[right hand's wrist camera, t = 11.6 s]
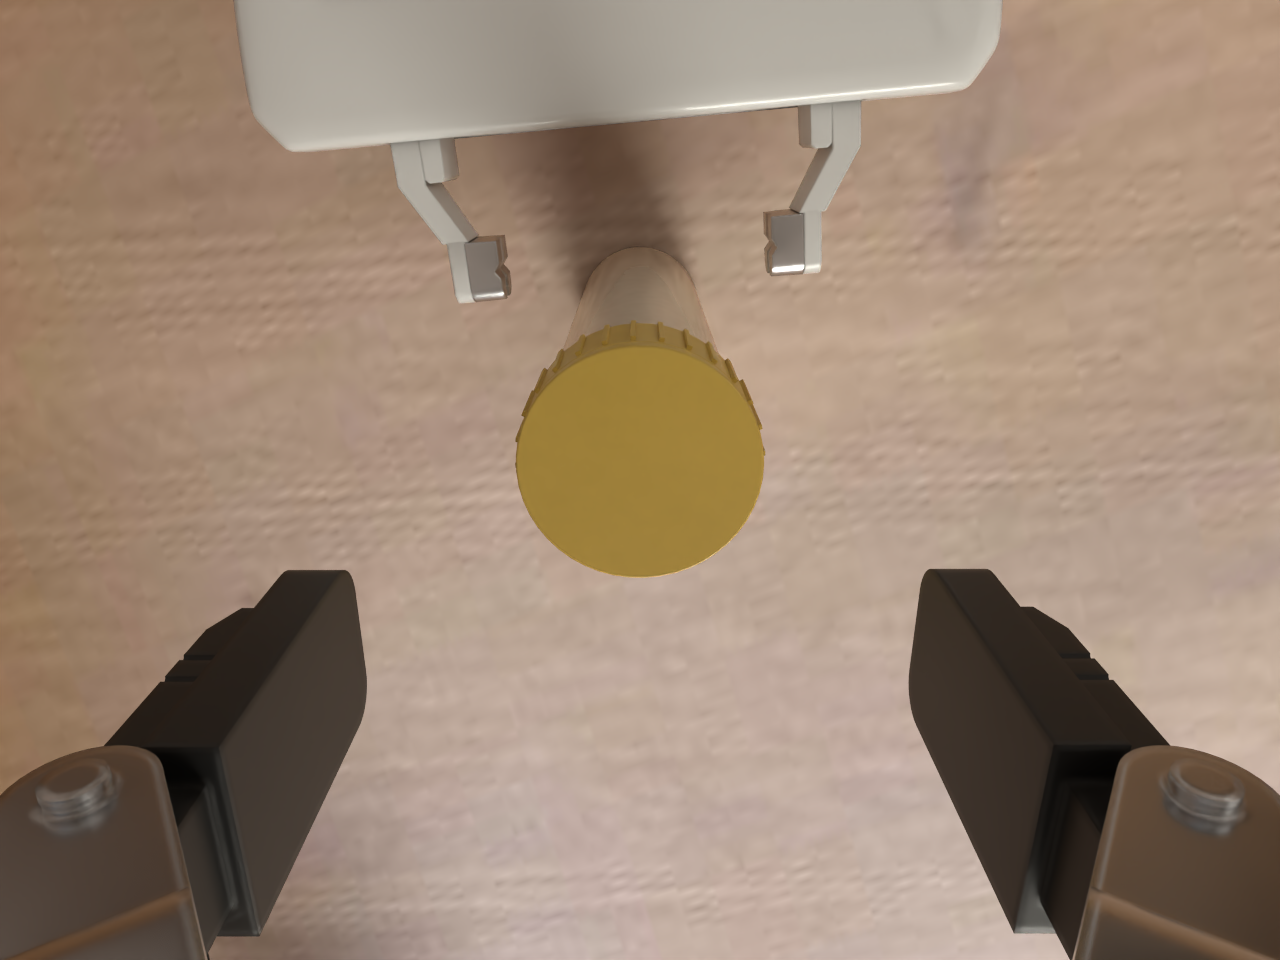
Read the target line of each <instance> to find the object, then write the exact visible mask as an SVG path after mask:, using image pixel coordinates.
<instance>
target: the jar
mask: <svg viewBox="0 0 1280 960" xmlns="http://www.w3.org/2000/svg"><path fill="white" fill-rule="evenodd" d="M631 320H636V323H647V324H657V325H658V322H663V326H668V327H671V328H674V329H678V330H681V331H683V330H684V329H687V330H689V333H690V335H692V336H694V337H696V338H698V339H699V340H701V341H702V342H704V343H707V342H708V341H709V342H710V343H711V344H712V346H713V349H714V350H715V351H716V352H717V353H718V351H717V348H716V345H715V342H714V340H713V337H712V334H711V331H710V328H709V326H708V323H707V320H706V317H705V315H704V312H703V309H702V306H701V304H700V301H699V298H698V295H697V293H696V290H695V287H694V284H693V282H692V280H691V278H690V276H689V274H688V273H687V271H686V270H685V268H684V267H683V266H682V265H681V264H680V263H679V262H678V261H677V260H676V259H674V258H673V257H671V256H670V255H668V254H666V253H664V252H662V251H660V250H656V249H653V248H647V247H633V248H627V249H623V250H621V251H618V252H615V253H614V254H612V255H610V256H608V257H607V258H606V259H604V260H603V261H602V262H601V263H600V264H599V265H598V266H597V267H596V268H595V270H594V271H593V272H592V274H591V276H590V277H589V279H588V282H587V284H586V287H585V289H584V292H583V295H582V298H581V301H580V303H579V306H578V309H577V312H576V314H575V317H574V320H573V323H572V325H571V328H570V331H569V334H568V336H567V339H566V342H565V345H564V347H563V350H564V351H565V350H566V349H568V348H569V347H570V346H572V345H573V344H575V343H576V342H577V341H578V340H579V337H580V336H581V335H583V334H584V335H585V336H588V335H590V334H592V333H594V332H597V331H600V330H602V329H604V325H608V324H609V325H610V327H613V326H617V325H623V324H631ZM718 354H719V353H718Z"/></svg>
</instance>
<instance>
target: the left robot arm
mask: <svg viewBox="0 0 1280 960" xmlns="http://www.w3.org/2000/svg"><path fill="white" fill-rule="evenodd" d="M1002 1H1003V0H234V9H235V18H236V27H237V34H238V41H239V48H240V55H241V61H242V67H243V73H244V79H245V85H246V90H247V95H248V100H249V104H250V107H251V110H252V113H253V115H254V117H255V118H256V120H257V121H258V123H259V124H260V125H261V126H262V127H263V128H264V129H265V130H266V131H267V132H268V133H269V134H270V135H271V136H272V137H273V138H274V139H275V140H277V141H278V142H279V143H280V144H281V145H282V146H283V147H284V148H285V149H287V150H289V151H292V152H315V151H326V150H337V149H348V148H359V147H370V146H381V145H391V151H392V156H393V162H394V168H395V173H396V179H397V185H398V188H399V189H400V190H401V192H402V193H403V194H404V196H405V197H406V198H407V199H408V201H409V202H410V203H411V205H412V206H413V207H414V208H415V210H416V211H417V212H418V214H419V215H420V216H421V217H422V219H423V220H424V221H425V223H426V224H427V225H428V226H429V228H430V229H431V230H432V232H433V233H434V234H435V236H436V237H437V238H438V239H439V241H440V242H441V243H442V245H445V244H447V249H448V255H449V261H450V267H451V273H452V279H453V285H454V291H455V296H456V298H457V301H458V303H474V302H481V301H491V300H500V299H507V298H508V297H507V296H508V295H510V294H511V277H510V271H509V269H508V268H507V267H506V266H505V265H504V263H505V261H506V259H507V257H508V254H507V248H506V241H505V235H495V236H480V237H477V236H479V235H478V233H477V232H476V230H475V229H474V228H473V226H472V225H471V223H470V222H469V221H468V219H467V218H466V216H465V215H464V214H463V212H462V211H461V209H460V208H459V207H458V205H457V204H456V202H455V201H454V200H453V198H452V197H451V195H450V194H449V192H448V191H447V190H446V188H445V187H444V185H443V184H442V183H441V182H445V181H450V180H455V179H456V178H457V177H458V176H459V170H458V163H457V156H456V148H455V141H454V139H456V138H467V137H478V136H489V135H500V134H511V133H521V132H532V131H543V130H554V129H565V128H576V127H586V126H597V125H608V124H619V123H630V122H641V121H651V120H662V119H673V118H684V117H695V116H706V115H716V114H727V113H738V112H749V111H760V110H771V109H781V108H792V107H798V125H799V144H800V145H801V147H802V148H818V150H817V152H816V154H815V156H814V158H813V160H812V162H811V164H810V166H809V168H808V170H807V172H806V174H805V176H804V178H803V180H802V183H801V185H800V187H799V189H798V191H797V193H796V195H795V197H794V199H793V201H792V203H791V205H790V207H789V208H790V209H786V210H777V211H768V212H763V221H764V235H765V236H766V237H767V239H768V240H769V242H768V244H767V245H766V247H765V249H764V252H765V266H766V271H767V273H770V276H781V275H796V274H807V273H819V272H820V269H821V261H822V250H821V211H826V209H827V207H828V205H829V203H830V202H831V200H832V198H833V196H834V194H835V192H836V190H837V189H838V187H839V185H840V183H841V181H842V179H843V177H844V176H845V174H846V172H847V170H848V168H849V166H850V164H851V163H852V161H853V159H854V157H855V155H856V153H857V151H858V150H859V148H860V146H861V101H869V100H879V99H890V98H901V97H912V96H922V95H933V94H944V93H951V92H956V91H960V90H963V89H965V88H967V87H969V86H970V84H971V83H972V82H973V81H974V80H975V78H976V77H977V76H978V75H979V73H980V72H981V71H982V69H983V68H984V66H985V65H986V63H987V62H988V60H989V59H990V57H991V56H992V54H993V53H994V51H995V49H996V47H997V44H998V41H999V36H1000V29H1001V17H1002Z"/></svg>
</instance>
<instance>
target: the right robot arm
mask: <svg viewBox="0 0 1280 960" xmlns="http://www.w3.org/2000/svg"><path fill="white" fill-rule="evenodd" d="M366 693H367V677H366V668H365V660H364V653H363V645H362V638H361V630H360V623H359V615H358V608H357V600H356V593H355V587H354V583H353V579H352V577H351V575H350V573H349V572H348V571H346V570H287V571H285V572H284V573H283V574H282V575H281V576H280V577H279V578H278V579H277V581H276V582H275V583H274V584H273V586H272V587H271V588H270V589H269V590H268V592H267V593H266V594H265V595H264V597H263V598H262V599H261V600H260V601H259V603H258V604H257V605H256V606H255V608H241V609H240V610H238V611H236V612H235V613H233V614H231V615H230V616H228V617H226V618H225V619H223V620H221V621H220V622H218V623H217V624H215V625H213V626H212V627H210V628H208V629H207V630H206V631H205V632H204V633H203V634H202V635H201V636H200V637H199V638H198V640H197V641H196V642H195V643H194V644H193V645H192V646H191V648H190V649H189V650H188V651H187V652H186V653H185V654H184V660H179V661H178V662H177V664H176V665H175V666H174V667H173V668H172V669H171V670H170V671H169V673H168V674H167V675H166V676H165V682H160V683H159V684H158V685H157V686H156V687H155V689H154V690H153V691H152V692H151V693H150V694H149V695H148V696H147V698H146V699H145V700H144V701H143V702H142V703H141V704H140V706H139V707H138V708H137V709H136V710H135V711H134V712H133V714H132V715H131V716H130V717H129V718H128V719H127V720H126V721H125V723H124V724H123V725H122V726H121V727H120V728H119V729H118V731H117V732H116V733H115V734H114V735H113V736H112V737H111V739H110V740H109V741H108V742H107V743H106V744H105V745H104V746H102V747H97V748H91V749H86V750H83V751H79V752H75V753H72V754H69V755H66V756H63V757H61V758H58V759H56V760H53V761H51V762H49V763H47V764H44V765H43V766H41V767H39V768H37V769H35V770H33V771H31V772H30V773H28V774H27V775H25V776H24V777H22V778H20V779H19V780H18V781H16V782H15V783H14V784H13V785H11V786H10V787H9V788H7V789H6V790H5V791H4V792H3V793H2V794H1V795H0V960H210V958H209V954H208V952H209V950H210V948H211V946H212V944H213V942H214V940H215V938H216V936H260V934H261V932H262V930H263V927H264V925H265V923H266V921H267V919H268V917H269V915H270V913H271V911H272V908H273V906H274V904H275V902H276V900H277V898H278V896H279V894H280V892H281V890H282V887H283V885H284V883H285V881H286V879H287V877H288V875H289V873H290V871H291V869H292V866H293V864H294V862H295V860H296V858H297V856H298V854H299V852H300V850H301V848H302V845H303V843H304V841H305V839H306V837H307V835H308V833H309V831H310V829H311V827H312V824H313V822H314V820H315V818H316V816H317V814H318V812H319V810H320V808H321V806H322V803H323V801H324V799H325V797H326V795H327V793H328V791H329V789H330V787H331V785H332V782H333V780H334V778H335V776H336V774H337V772H338V770H339V768H340V766H341V764H342V761H343V759H344V757H345V755H346V753H347V751H348V749H349V747H350V745H351V743H352V740H353V738H354V736H355V734H356V732H357V730H358V728H359V726H360V723H361V720H362V717H363V713H364V709H365V703H366ZM909 697H910V705H911V710H912V714H913V718H914V721H915V723H916V725H917V728H918V730H919V732H920V734H921V736H922V738H923V740H924V743H925V745H926V747H927V749H928V751H929V753H930V755H931V757H932V760H933V762H934V764H935V766H936V768H937V770H938V772H939V774H940V777H941V779H942V781H943V783H944V785H945V787H946V789H947V792H948V794H949V796H950V798H951V800H952V802H953V804H954V806H955V809H956V811H957V813H958V815H959V817H960V819H961V821H962V823H963V826H964V828H965V830H966V832H967V834H968V836H969V838H970V840H971V843H972V845H973V847H974V849H975V851H976V853H977V855H978V858H979V860H980V862H981V864H982V866H983V868H984V870H985V872H986V875H987V877H988V879H989V881H990V883H991V885H992V887H993V889H994V892H995V894H996V896H997V898H998V900H999V902H1000V904H1001V907H1002V909H1003V911H1004V913H1005V915H1006V917H1007V919H1008V921H1009V924H1010V926H1011V928H1012V930H1013V932H1014V933H1056V934H1057V936H1058V938H1059V939H1060V941H1061V943H1062V945H1063V947H1064V949H1065V951H1066V953H1067V955H1068V957H1069V959H1070V960H1280V795H1279V794H1278V793H1277V792H1276V791H1275V790H1274V789H1273V788H1271V787H1270V786H1269V785H1267V784H1266V783H1265V782H1264V781H1262V780H1261V779H1260V778H1258V777H1256V776H1255V775H1253V774H1252V773H1250V772H1249V771H1247V770H1245V769H1243V768H1241V767H1239V766H1237V765H1236V764H1233V763H1231V762H1229V761H1227V760H1224V759H1222V758H1219V757H1217V756H1214V755H1211V754H1208V753H1205V752H1201V751H1197V750H1194V749H1189V748H1183V747H1178V746H1170V745H1169V744H1168V742H1167V741H1166V740H1165V739H1164V738H1163V737H1162V735H1161V734H1160V733H1159V732H1158V731H1157V730H1156V729H1155V727H1154V726H1153V725H1152V724H1151V723H1150V722H1149V721H1148V719H1147V718H1146V717H1145V716H1144V715H1143V714H1142V712H1141V711H1140V710H1139V709H1138V708H1137V707H1136V706H1135V704H1134V703H1133V702H1132V701H1131V700H1130V699H1129V698H1128V696H1127V695H1126V694H1125V693H1124V692H1123V691H1122V690H1121V688H1120V687H1119V686H1118V685H1117V684H1116V683H1115V681H1114V680H1109V678H1108V673H1107V672H1106V671H1105V670H1104V669H1103V668H1102V667H1101V665H1100V664H1099V663H1098V662H1097V661H1096V660H1095V659H1091V658H1090V653H1089V652H1088V650H1087V649H1086V648H1085V647H1084V646H1083V645H1082V644H1081V642H1080V641H1079V640H1078V639H1077V638H1076V637H1075V636H1074V634H1073V633H1072V632H1071V631H1070V630H1069V629H1068V628H1067V627H1065V626H1064V625H1062V624H1060V623H1059V622H1057V621H1055V620H1054V619H1052V618H1050V617H1049V616H1047V615H1046V614H1044V613H1042V612H1041V611H1039V610H1037V609H1036V608H1034V607H1020V606H1019V604H1018V603H1017V602H1016V601H1015V599H1014V598H1013V597H1012V596H1011V595H1010V593H1009V592H1008V591H1007V590H1006V588H1005V587H1004V586H1003V585H1002V583H1001V582H1000V581H999V580H998V578H997V577H996V576H995V575H994V574H993V573H992V572H991V571H990V570H988V569H929V570H927V571H926V573H925V574H924V576H923V579H922V582H921V587H920V594H919V602H918V609H917V617H916V625H915V632H914V640H913V647H912V655H911V663H910V670H909Z"/></svg>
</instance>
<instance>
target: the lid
mask: <svg viewBox="0 0 1280 960" xmlns="http://www.w3.org/2000/svg"><path fill="white" fill-rule="evenodd" d="M522 416H524V419H523V421H522V424H521V426H520V429H519V431H518V433H517V436H516V442H518V443H517V452H516V463H515V465H516V472H517V479H518V485H519V489H520V492H521V495H522V498H523V501H524V504H525V506H526V508H527V510H528V512H529V514H530V516H531V517H532V519H533V521H534V522H535V524H536V525H537V527H538V528H539V529H540V531H541V532H542V533H543V534H544V535H545V537H546V538H547V539H548V540H549V541H550V542H551V543H552V544H554V545H555V546H556V547H557V548H558V549H559V550H560V551H562V552H563V553H565V554H566V555H567V556H569V557H570V558H572V559H574V560H575V561H577V562H579V563H581V564H583V565H585V566H587V567H590V568H592V569H595V570H597V571H600V572H604V573H607V574H611V575H616V576H623V577H635V578H647V577H658V576H664V575H668V574H673V573H677V572H680V571H683V570H686V569H688V568H691V567H693V566H695V565H697V564H699V563H701V562H703V561H705V560H706V559H708V558H709V557H711V556H713V555H714V554H716V553H717V552H718V551H719V550H721V549H722V548H723V547H724V546H725V545H727V544H728V543H729V542H730V541H731V540H732V539H733V537H734V536H735V535H736V534H737V533H738V532H739V531H740V529H741V528H742V526H743V525H744V524H745V522H746V521H747V519H748V517H749V516H750V514H751V512H752V510H753V508H754V506H755V503H756V501H757V498H758V495H759V493H760V488H761V484H762V480H763V470H764V456H765V449H764V447H763V444H762V439H761V434H760V430H761V429H762V425H761V422H760V420H759V418H758V415H757V413H756V411H755V408H754V406H753V401H752V399H751V397H750V394H749V392H748V390H747V387H746V385H745V383H744V381H743V379H742V380H740V381H739V380H738V378H737V376H736V374H735V371H734V369H733V366H732V364H731V361H730V360H729V359H726V360H724V359H723V358H722V357H721V356H720V355H719V354H718V353H717V352H716V351H715V350H714V349H713V346H712V344H711V343H710V342H709V341H708V342H707V343H704V342H702V341H701V340H699V339H698V338H696V337H694V336H692V335H690V333H689V330H687V329H684V330H683V331H681V330H678V329H674V328H671V327H668V326H663V322H658V325H657V324H647V323H636V320H631V324H623V325H617V326H613V327H610V325H609V324H608V325H604V329H602V330H600V331H597V332H594V333H592V334H590V335H588V336H585V335H584V334H583V335H581V336H580V337H579V340H578V341H577V342H576V343H575V344H573V345H572V346H570V347H569V348H568V349H566V350H565V351H564V350H563V349H561V350H560V351H559V352H558V355H557V357H556V360H555V361H554V362H553V364H552V365H551V366H550V367H549V369H548V370H547V369H545V368H544V369H543V371H542V372H541V375H540V377H539V380H538V382H537V384H536V387H535V389H534V391H533V390H532V391H531V394H530V396H529V398H528V401H527V403H526V405H525V408H524V410H523V413H522Z"/></svg>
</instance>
